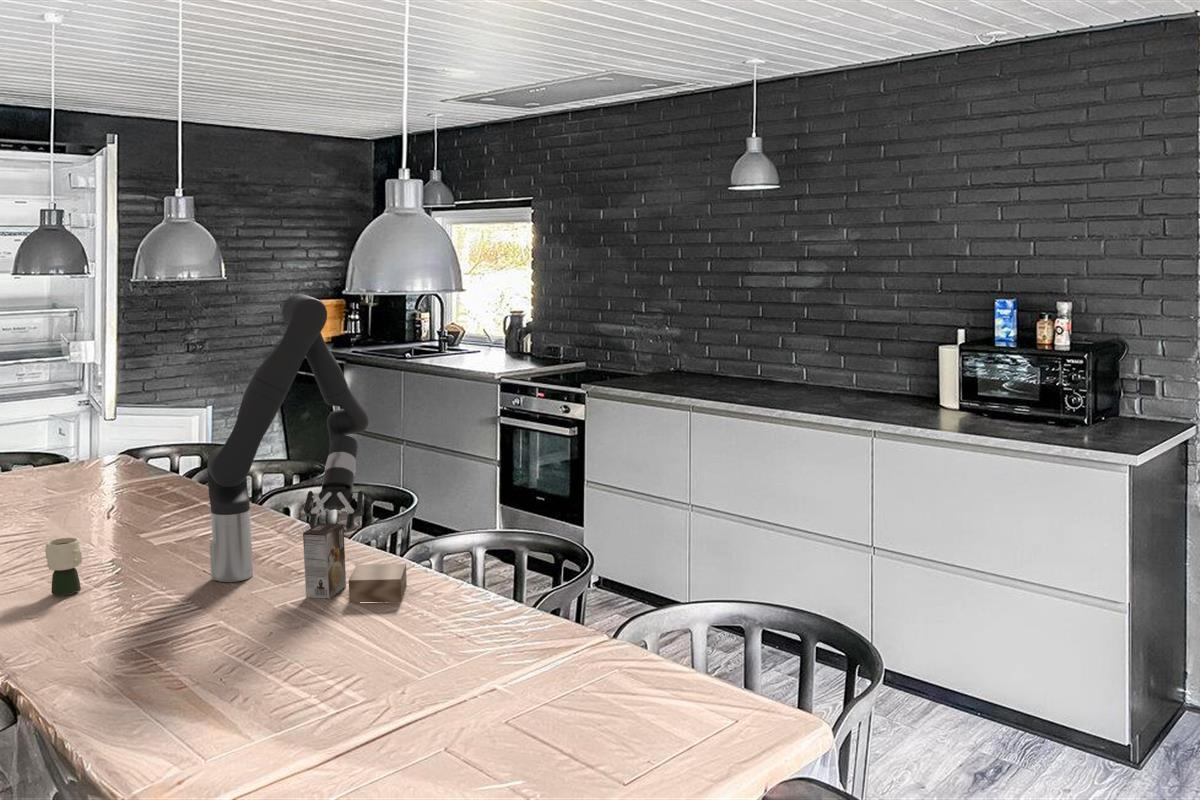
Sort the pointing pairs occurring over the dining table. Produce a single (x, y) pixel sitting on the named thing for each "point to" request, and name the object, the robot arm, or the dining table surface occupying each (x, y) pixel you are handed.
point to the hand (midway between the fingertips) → (330, 529)
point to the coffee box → (324, 560)
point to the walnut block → (377, 583)
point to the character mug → (64, 564)
